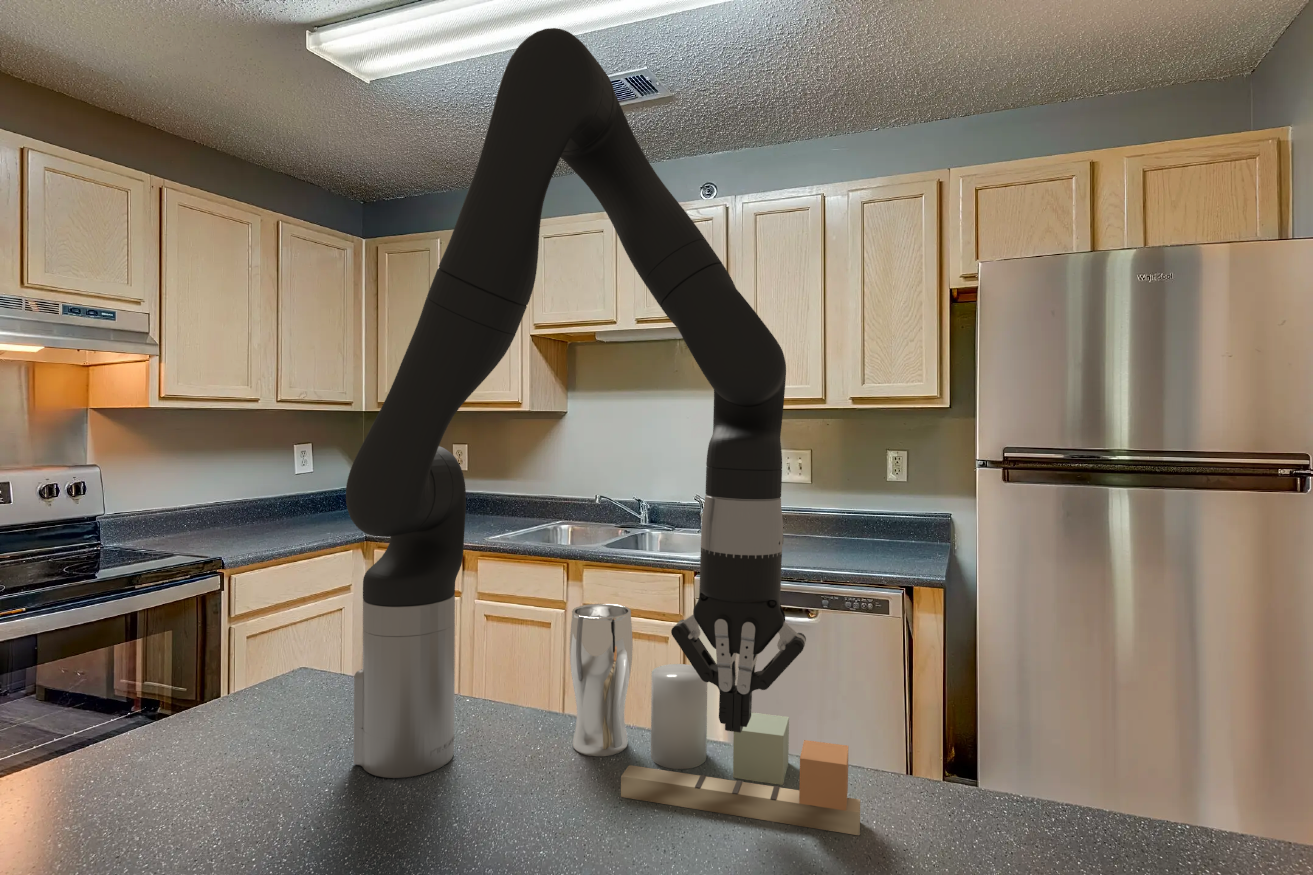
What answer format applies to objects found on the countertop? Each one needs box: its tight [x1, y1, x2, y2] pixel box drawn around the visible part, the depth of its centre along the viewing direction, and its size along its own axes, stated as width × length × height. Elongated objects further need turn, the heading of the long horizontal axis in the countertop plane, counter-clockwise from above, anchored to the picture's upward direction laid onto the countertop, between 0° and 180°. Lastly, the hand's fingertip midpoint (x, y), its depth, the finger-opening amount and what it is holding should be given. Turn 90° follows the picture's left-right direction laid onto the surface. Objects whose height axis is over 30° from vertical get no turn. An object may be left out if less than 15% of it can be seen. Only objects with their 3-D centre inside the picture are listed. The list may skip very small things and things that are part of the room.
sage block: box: [732, 711, 790, 786], centre depth 76 cm, size 5×5×5 cm
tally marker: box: [798, 739, 849, 811], centre depth 66 cm, size 4×4×4 cm
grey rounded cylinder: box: [650, 663, 708, 770], centre depth 79 cm, size 6×6×9 cm
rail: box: [620, 764, 861, 836], centre depth 69 cm, size 22×2×2 cm, turn 73°
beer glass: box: [569, 603, 634, 758], centre depth 82 cm, size 7×7×15 cm
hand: (734, 728), depth 69 cm, fingers closed
